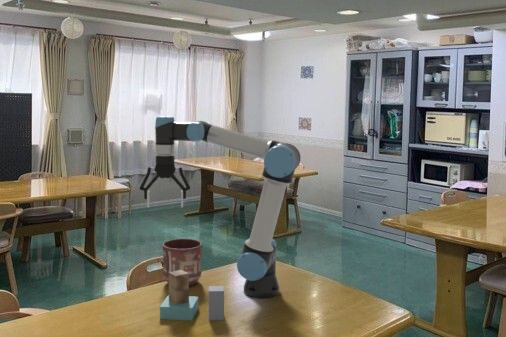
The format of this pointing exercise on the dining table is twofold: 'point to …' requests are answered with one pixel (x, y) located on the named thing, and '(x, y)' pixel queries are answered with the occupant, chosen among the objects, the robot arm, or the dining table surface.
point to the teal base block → (179, 309)
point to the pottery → (183, 258)
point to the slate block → (216, 302)
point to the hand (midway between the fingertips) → (165, 207)
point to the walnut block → (178, 287)
